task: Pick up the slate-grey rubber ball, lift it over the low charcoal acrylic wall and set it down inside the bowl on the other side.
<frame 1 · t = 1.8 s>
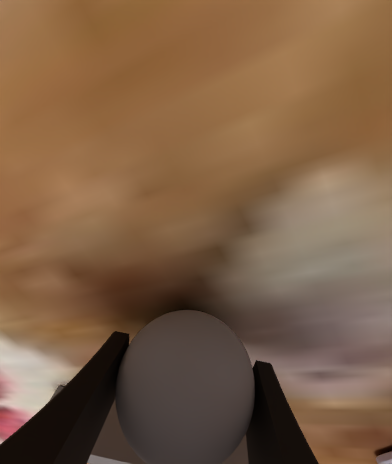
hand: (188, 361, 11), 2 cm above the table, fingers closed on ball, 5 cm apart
ball: (186, 380, 10), point 3 cm above the table, touching gripper
low wall: (174, 415, 16), on the table
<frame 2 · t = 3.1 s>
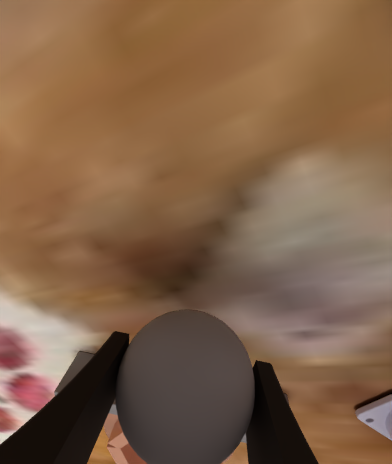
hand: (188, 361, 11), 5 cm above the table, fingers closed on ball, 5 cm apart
ball: (186, 380, 10), point 5 cm above the table, touching gripper
bowl: (169, 432, 22), on the table
low wall: (180, 377, 18), on the table
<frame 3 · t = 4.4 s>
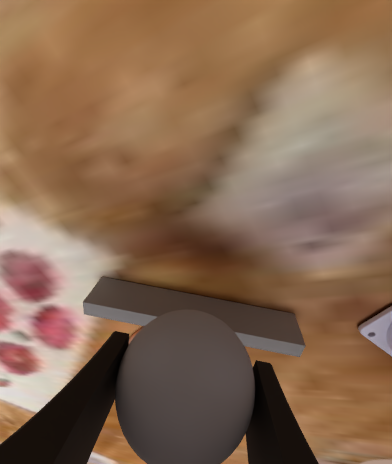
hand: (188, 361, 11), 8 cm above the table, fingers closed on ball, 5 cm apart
ball: (186, 380, 10), point 9 cm above the table, touching gripper
low wall: (196, 300, 20), on the table
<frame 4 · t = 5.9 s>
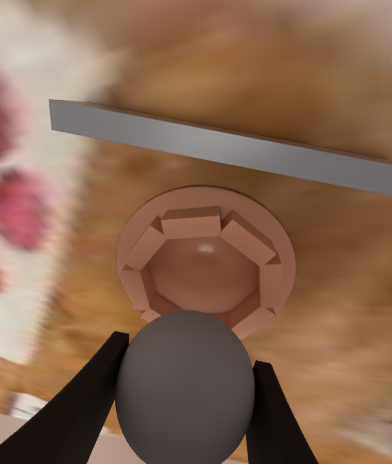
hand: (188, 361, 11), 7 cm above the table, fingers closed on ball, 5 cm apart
ball: (185, 380, 10), point 8 cm above the table, touching gripper
bowl: (203, 270, 17), on the table
low wall: (231, 142, 13), on the table
when the fingers open (3 cm above the table, at t = 7.0 s): ball stays where it is, resting on bowl.
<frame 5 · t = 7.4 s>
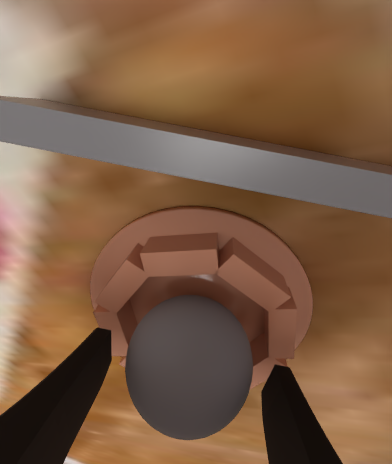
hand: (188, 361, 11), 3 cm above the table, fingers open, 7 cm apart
ball: (189, 358, 11), point 3 cm above the table, touching bowl
bowl: (197, 306, 14), on the table
low wall: (232, 152, 10), on the table
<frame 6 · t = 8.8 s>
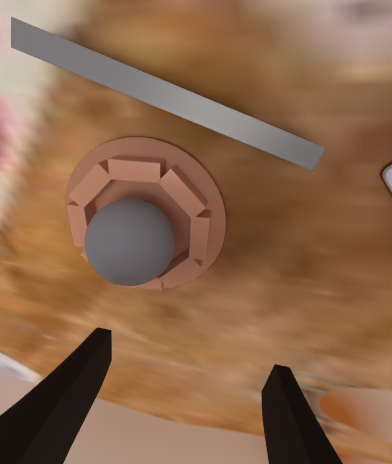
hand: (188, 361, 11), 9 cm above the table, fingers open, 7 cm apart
ball: (131, 241, 15), point 3 cm above the table, touching bowl
bowl: (146, 221, 18), on the table
low wall: (181, 101, 14), on the table
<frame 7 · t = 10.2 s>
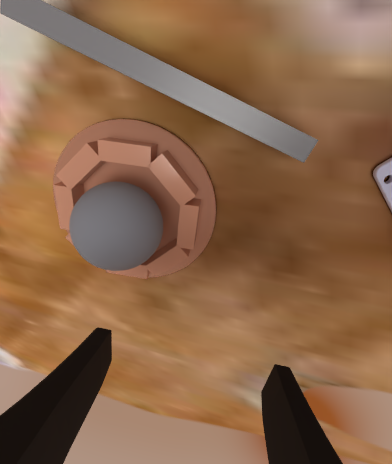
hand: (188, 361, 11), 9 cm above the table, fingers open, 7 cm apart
ball: (118, 226, 15), point 3 cm above the table, touching bowl
bowl: (135, 207, 18), on the table
low wall: (176, 85, 14), on the table
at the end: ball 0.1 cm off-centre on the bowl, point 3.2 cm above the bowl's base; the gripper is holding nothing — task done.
